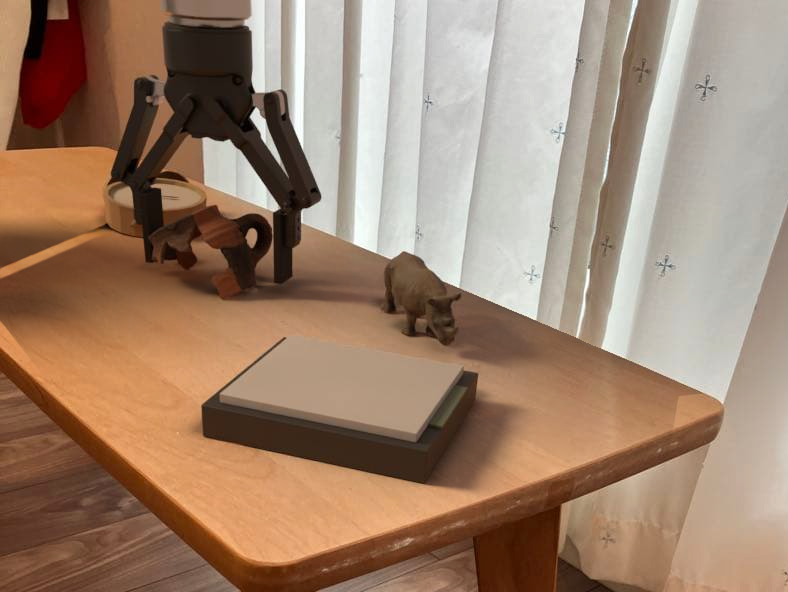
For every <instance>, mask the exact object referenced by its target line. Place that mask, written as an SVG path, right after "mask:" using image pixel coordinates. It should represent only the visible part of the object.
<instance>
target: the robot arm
mask: <svg viewBox="0 0 788 592" xmlns="http://www.w3.org/2000/svg"><path fill="white" fill-rule="evenodd" d="M160 11H161V12H162V13H163V14H164V15H165V16H168V21H165V22H164V23H163V25H162V26H161V32H162V33H161V34H162V46H163V60H164V61H163V62H164V66H165V69H166V72H167V76H166V81H165V80H161V79H160V78H159V77H158V76H157V75H155V74H149V75H144V76H139V77H137V78H135V79H134V81H133V105H132V108H131V110H130V114H129V116H128V120H127V123H126V125H125V129H124V132H123V134H122V138H121V139H120V140H121V141H120V144H119V147H118V150H117V152H116V156H115V159H114V162H113V165H112V167H111V170H110V174H111V177H112V179H113V180H114V181H116V182H119V181H121V182H123V183H124V184H126V185H128V186H129V187H130V189H131V191H132V196H133V207H134V218H135V221H136V223H137V224H139V225H142V229H143V237H142V240H143V249H144V250H143V252H144V261H145V263H148V264H155V262H154V261H153V260H152V254H153V249H154V246H153V245H152V243H151V241H150V240H149V239H148V237H149V236H150V235H151V234H152V233H153V232H155V231H156V230H158V229H159V228H162V227H164V220H163V207H162V194H161V188H155V187H154V188H151V185H154V184H155V183H156V182H154V181H155V180H156V178H157V177H158V176H159V174H160V173H161V172H163V171H164V169H165V167H166V166H167V164H168V163H169V162H170V161H171V159H172V158H173V156H174V155H175V154H176V152H177V151H178V149H179V148H180V147H181V145H182V144H183V142H184V141H185V140H186V138H187V137H188V136H191V138H192V139H205V138H208V139H210V140H213V141H215V142H222V143H224V142H226V141H230V142H231V144H232V145H233V147H234V148H235V149H237V150H239V151H240V153H242V155H243V156H244V158H245V159H246V160H247V162H248V163H249V165H250V167H251V168H252V169H253V171H254V172H255V174H256V175H257V176H258V178H259V179H260V180H261V182H262V184H263V185H264V186H265V188H266V189H267V191H268V192H269V193H270V195H271V196H272V198H273V199H274V201H275V202H276V204H277V205H278V207H279V209H276V210H275V211H273V212H272V234H273V238H272V243H273V244H272V245H273V284H276V285H283V284H284V283H286V282H287V281H288V280H290V279H291V278H293V276H294V275H293V274H294V273H293V272H294V271H293V269H294V268H293V262H294V261H293V249H295V248H296V247H298V246H299V245H300V243H301V241H302V212H303V210H304V209H310V208H311V207H313V206H315V205H316V204H318V203H320V202H321V200H322V193H321V190H320V188H319V186H318V183H317V181H316V179H315V176H314V173H313V171H312V168H311V166H310V164H309V161H308V159H307V157H306V154H305V152H304V149H303V147H302V145H301V142H300V139H299V137H298V135H297V131H296V130H295V128H294V125H293V123H292V120H291V118H290V110H289V100H288V99H289V98H288V95H287V92H286V91H285V90H284V89H281V88H280V89H279V88H278V89H276V90H273V91H269V92H256V89H255V87H254V85H253V79H252V78H253V69H254V68H253V67H254V65H253V64H254V63H253V62H254V61H253V30H251V29H250V27H249V26H248V25H246V24H245V21H246V20H249V19H250V18H251V17H252V16H253V13H252V12H253V11H252V0H160ZM164 99H165V100H166V102H167V103H168V105H169V106H170V108H171V110H172V112H173V113H172V115H171V116H170V118H169V119H168V121H167V122H166V123H165V125H164V126H163V129H162V132H161V134H160V135H159V137H158V138H157V140H156V141H155V142H154V143H153V145H152V147H151V148H150V149H149V151H148V152H147V154H146V155H145V157H144V158H143V159H142V157H143V154H144V150H145V148H146V145H147V142H148V139H149V137H150V134H151V131H152V128H153V125H154V121H155V120H156V116H157V114H158V110H159V106H160V105H161V104H162V103H163V102H164ZM256 109H258V111H259V115H260V117H261V118H262V119H264V120H265V123H266V127H267V130H268V132H269V134H270V137H271V139H272V142H273V144H274V147H275V149H276V152H277V153H278V154H277V155H278V157H279V159H280V161H281V163H282V165H283V167H284V169H283V168H282V166H281V165H280V163H279V162H278V160H277V159H276V158H275V156H274V154H273V153H272V152H271V150H270V149H269V147H268V146H267V144H266V142H265V141H264V140H263V138H262V134H261V131H260V130H259V128H258V127H257V126H256V124H255V122H254V121H253V119H252V118H251V116H252V114H253V112H254V111H255V110H256ZM141 159H142V161H141ZM284 170H285V171H284ZM153 182H154V183H153Z"/></svg>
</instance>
